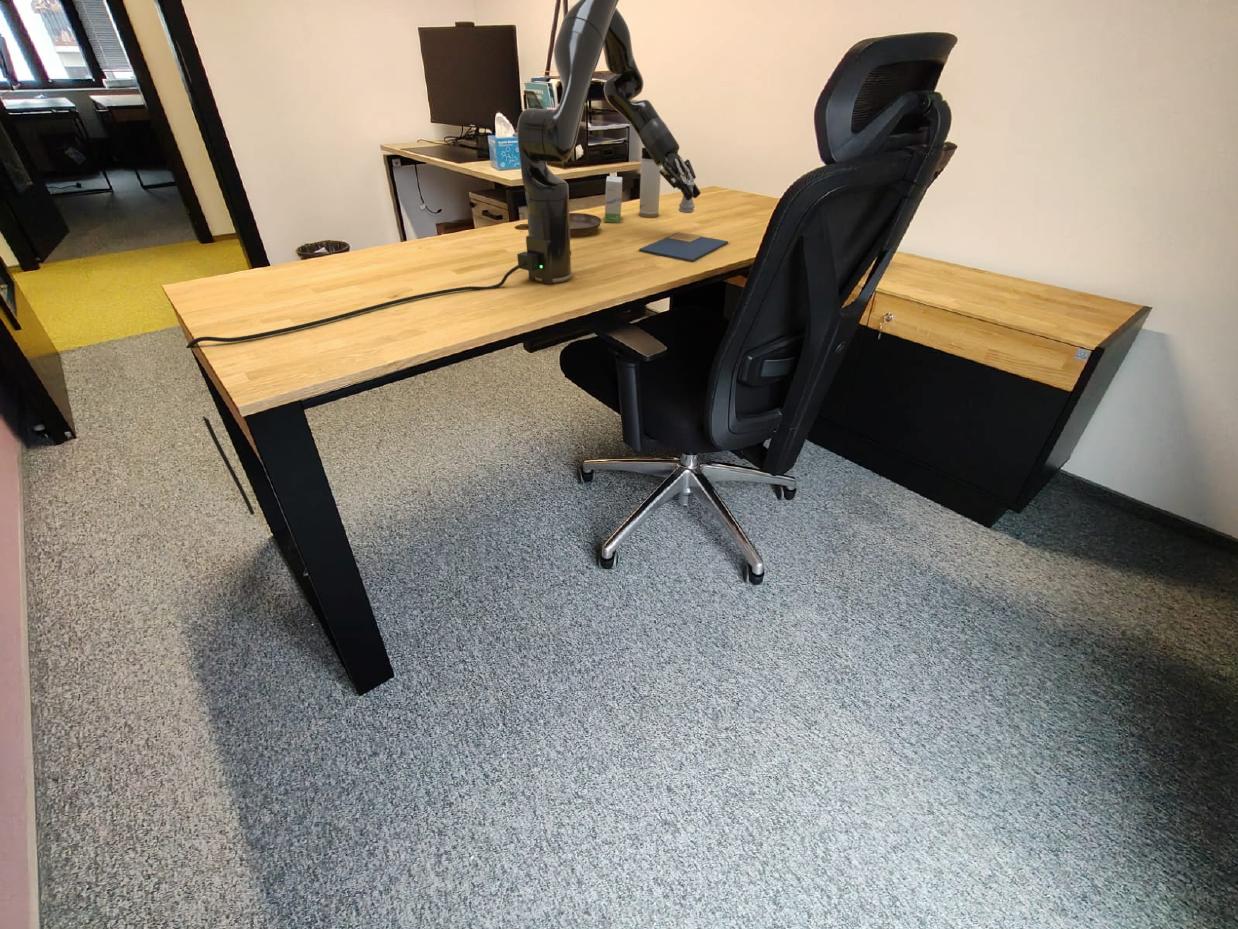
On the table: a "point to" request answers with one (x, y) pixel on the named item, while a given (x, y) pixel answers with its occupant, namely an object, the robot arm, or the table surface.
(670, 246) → the desk mat
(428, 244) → the table surface
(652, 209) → the travel mug
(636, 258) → the table surface
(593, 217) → the plant saucer
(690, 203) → the rook chess piece
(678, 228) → the table surface
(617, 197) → the ink box
